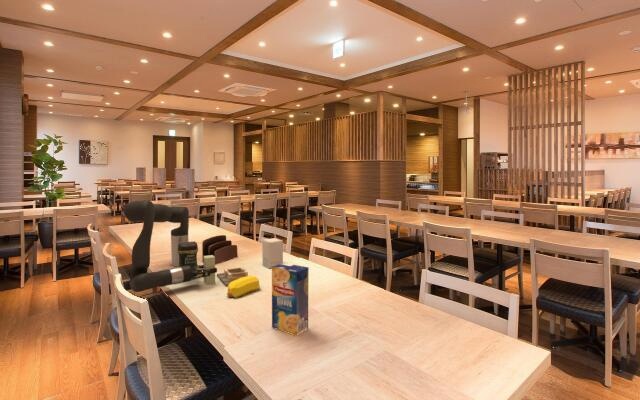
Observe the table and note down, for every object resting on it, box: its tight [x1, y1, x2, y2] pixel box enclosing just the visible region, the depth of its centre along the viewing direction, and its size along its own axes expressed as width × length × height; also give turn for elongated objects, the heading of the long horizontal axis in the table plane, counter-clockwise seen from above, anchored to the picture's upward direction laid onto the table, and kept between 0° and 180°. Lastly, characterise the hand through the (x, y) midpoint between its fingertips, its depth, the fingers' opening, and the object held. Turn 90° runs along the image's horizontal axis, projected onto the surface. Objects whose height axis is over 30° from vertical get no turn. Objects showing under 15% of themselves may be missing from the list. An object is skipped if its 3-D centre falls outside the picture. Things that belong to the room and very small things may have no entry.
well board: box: [216, 266, 249, 288], centre depth 178 cm, size 18×13×4 cm
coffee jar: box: [178, 241, 199, 280], centre depth 178 cm, size 10×8×19 cm
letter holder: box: [201, 234, 239, 266], centre depth 214 cm, size 10×20×14 cm, turn 153°
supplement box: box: [261, 237, 284, 269], centre depth 202 cm, size 9×9×15 cm
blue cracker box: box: [271, 262, 310, 336], centre depth 125 cm, size 7×11×22 cm, turn 57°
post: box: [202, 255, 216, 286], centre depth 172 cm, size 4×4×13 cm
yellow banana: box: [226, 275, 261, 299], centre depth 160 cm, size 18×7×8 cm
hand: (212, 268), depth 173 cm, fingers open, 8 cm apart
